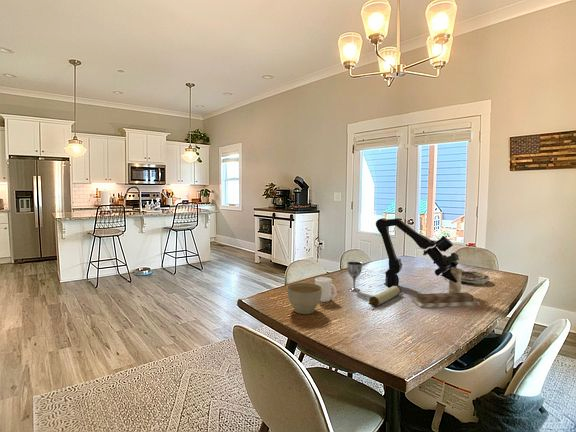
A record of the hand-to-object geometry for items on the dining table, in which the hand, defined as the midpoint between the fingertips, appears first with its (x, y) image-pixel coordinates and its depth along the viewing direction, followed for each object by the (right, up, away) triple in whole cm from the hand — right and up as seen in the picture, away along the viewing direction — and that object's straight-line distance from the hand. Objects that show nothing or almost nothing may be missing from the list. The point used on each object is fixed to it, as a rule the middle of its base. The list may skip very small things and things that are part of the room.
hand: (458, 281), depth 174 cm
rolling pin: (-39, -9, -4) cm, 40 cm away
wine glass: (-51, -7, +12) cm, 53 cm away
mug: (-69, -9, -5) cm, 69 cm away
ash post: (-1, -6, +2) cm, 7 cm away
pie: (+22, -6, +31) cm, 38 cm away
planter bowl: (-80, -10, -19) cm, 83 cm away
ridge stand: (-11, -9, -9) cm, 17 cm away
